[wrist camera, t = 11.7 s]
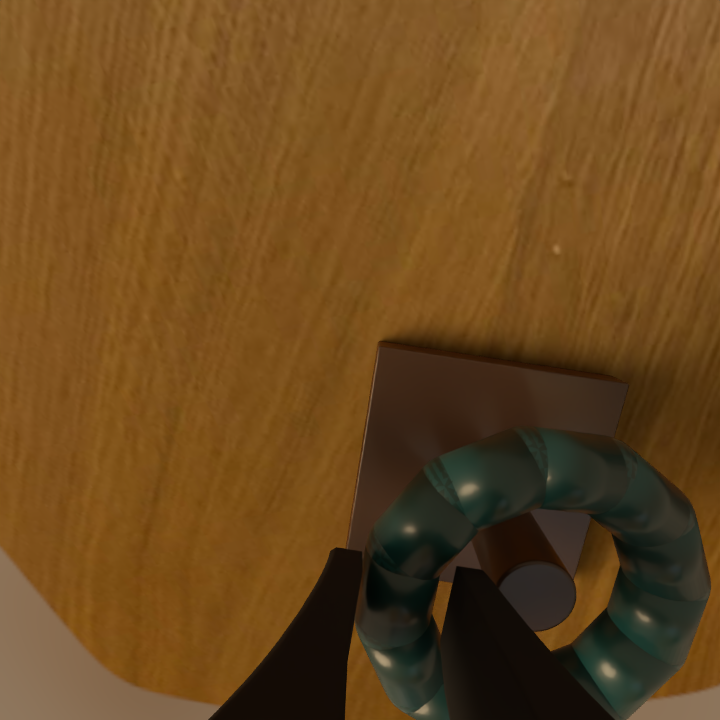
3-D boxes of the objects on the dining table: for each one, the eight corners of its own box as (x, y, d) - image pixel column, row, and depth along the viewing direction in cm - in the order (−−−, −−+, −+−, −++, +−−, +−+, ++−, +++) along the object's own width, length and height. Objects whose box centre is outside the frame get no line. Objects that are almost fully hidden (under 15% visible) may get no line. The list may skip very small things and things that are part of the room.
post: (556, 580, 18) (667, 771, 11) (345, 547, 19) (327, 718, 11) (612, 375, 17) (785, 454, 10) (378, 340, 17) (379, 392, 10)
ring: (618, 705, 13) (664, 775, 11) (334, 690, 12) (335, 763, 10) (708, 438, 11) (779, 471, 9) (384, 397, 10) (396, 425, 8)
